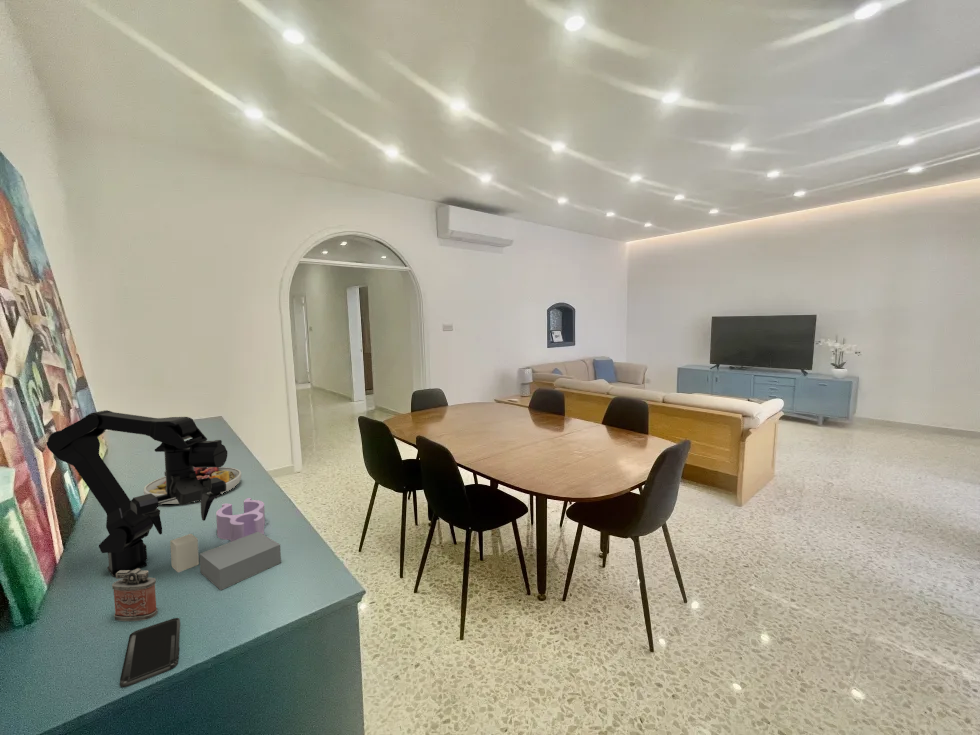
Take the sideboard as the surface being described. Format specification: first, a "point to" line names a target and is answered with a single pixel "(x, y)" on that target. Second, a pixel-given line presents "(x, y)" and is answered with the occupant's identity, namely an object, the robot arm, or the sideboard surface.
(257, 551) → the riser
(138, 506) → the robot arm
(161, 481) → the bowl
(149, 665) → the phone
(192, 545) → the block
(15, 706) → the sideboard surface
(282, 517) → the sideboard surface
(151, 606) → the lighter
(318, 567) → the sideboard surface
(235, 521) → the clip
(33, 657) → the sideboard surface
